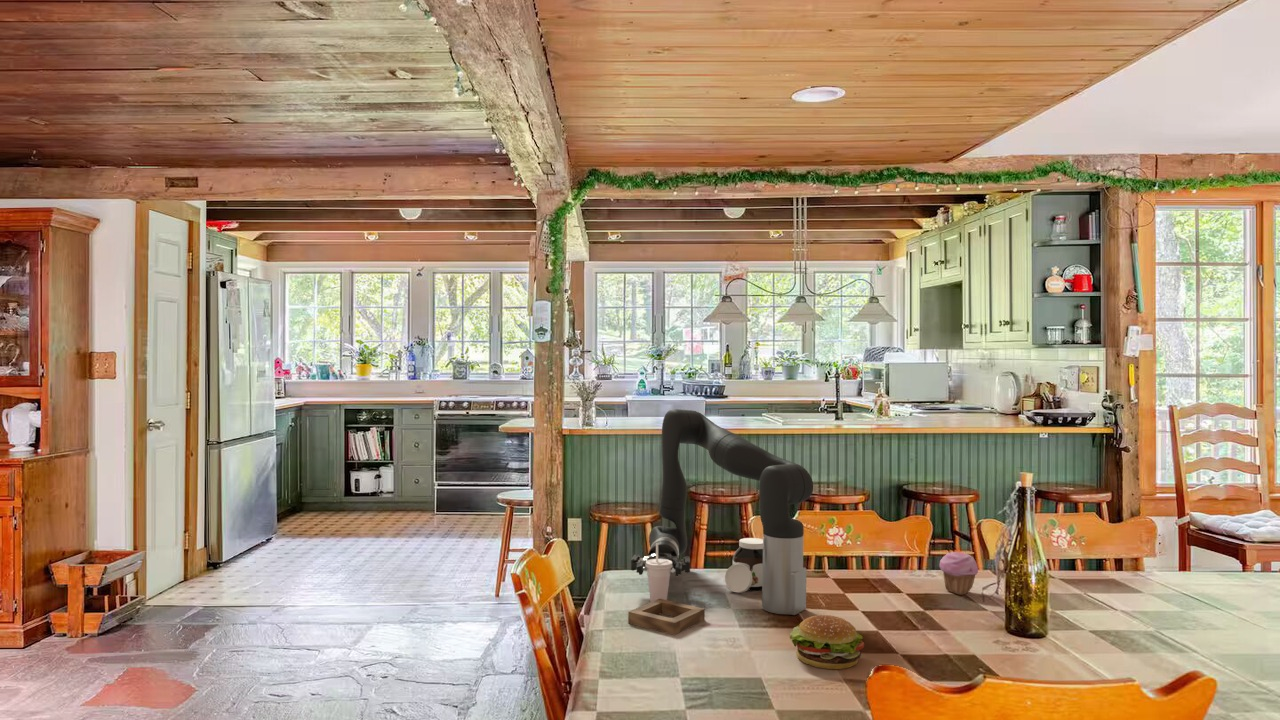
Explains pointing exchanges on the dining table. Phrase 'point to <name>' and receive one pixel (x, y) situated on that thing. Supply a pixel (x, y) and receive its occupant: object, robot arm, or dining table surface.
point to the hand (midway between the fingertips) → (658, 571)
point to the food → (827, 642)
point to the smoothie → (658, 577)
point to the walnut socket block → (650, 617)
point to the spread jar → (746, 566)
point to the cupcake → (958, 572)
